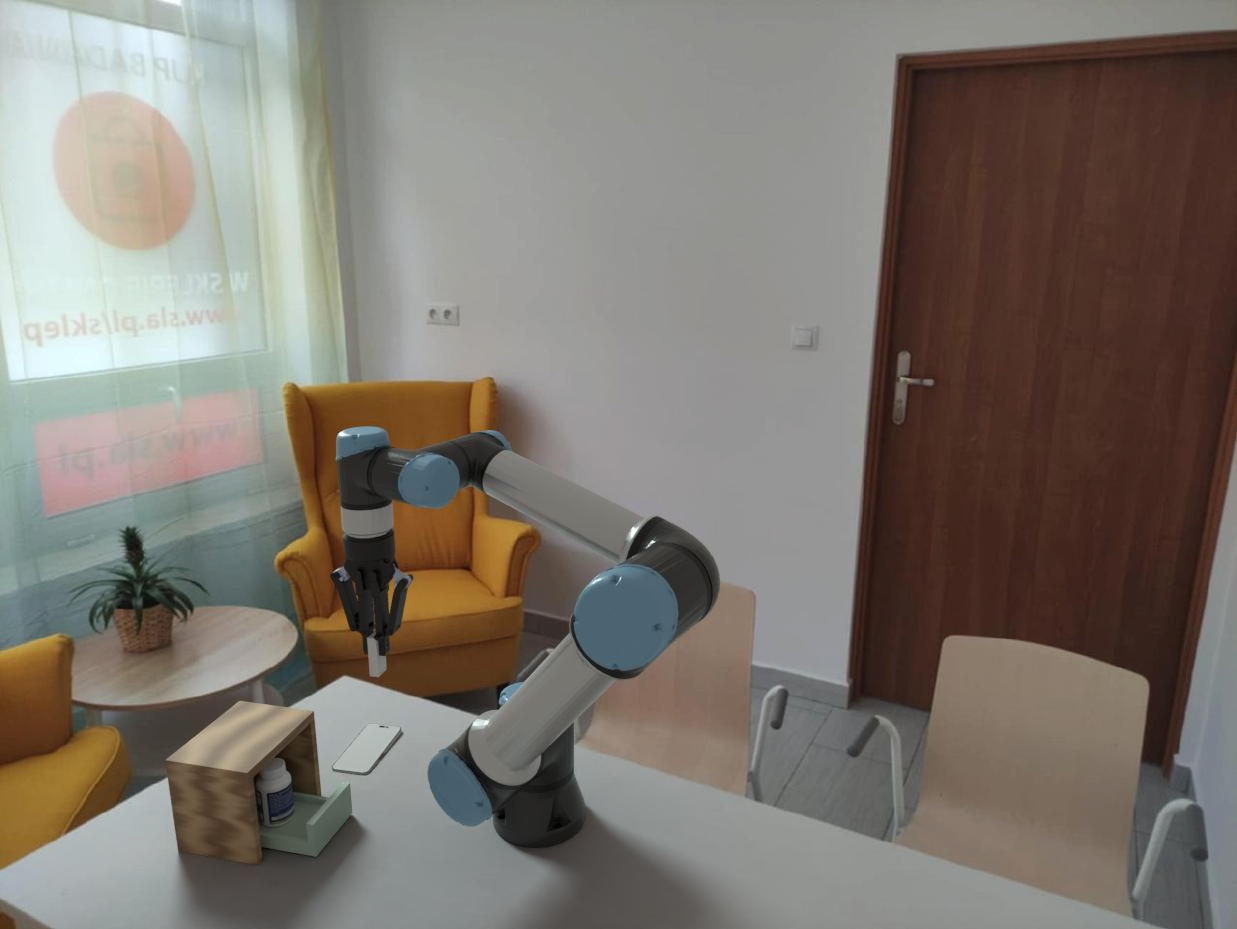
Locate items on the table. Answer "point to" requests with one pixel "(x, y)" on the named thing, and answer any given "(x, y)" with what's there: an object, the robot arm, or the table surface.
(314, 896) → the table surface
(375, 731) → the smartphone
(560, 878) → the table surface
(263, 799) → the pill bottle
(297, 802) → the tray
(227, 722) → the wooden drawer cabinet
